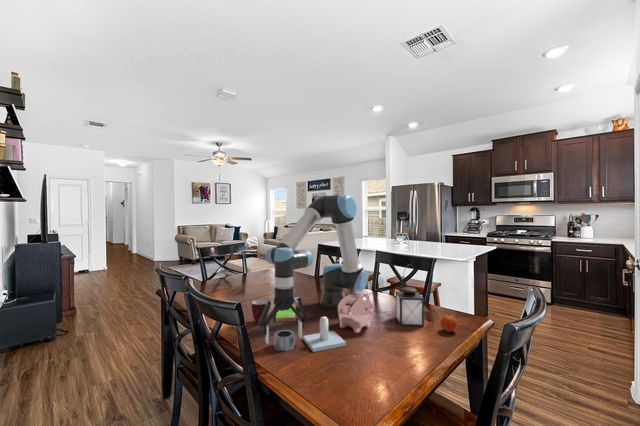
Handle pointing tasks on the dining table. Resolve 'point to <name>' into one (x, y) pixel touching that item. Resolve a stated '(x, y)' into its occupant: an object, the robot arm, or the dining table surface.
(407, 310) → the lantern
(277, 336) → the ring
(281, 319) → the game box
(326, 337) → the block
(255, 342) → the dining table surface
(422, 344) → the dining table surface
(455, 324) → the fruit
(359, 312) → the piggy bank
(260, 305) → the mug
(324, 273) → the robot arm
